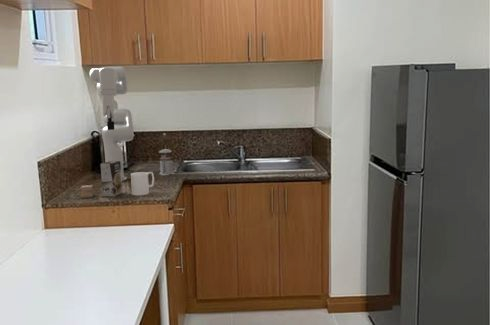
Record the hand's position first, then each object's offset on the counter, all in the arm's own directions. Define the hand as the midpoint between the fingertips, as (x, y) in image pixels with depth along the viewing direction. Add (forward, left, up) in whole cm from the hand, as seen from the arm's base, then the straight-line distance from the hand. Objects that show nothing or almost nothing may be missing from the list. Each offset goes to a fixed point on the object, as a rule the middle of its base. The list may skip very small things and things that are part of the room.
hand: (111, 129), depth 238 cm
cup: (+13, +15, -31) cm, 37 cm away
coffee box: (+12, 0, -31) cm, 34 cm away
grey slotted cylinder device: (-42, +26, -31) cm, 58 cm away
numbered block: (+12, -12, -31) cm, 36 cm away
